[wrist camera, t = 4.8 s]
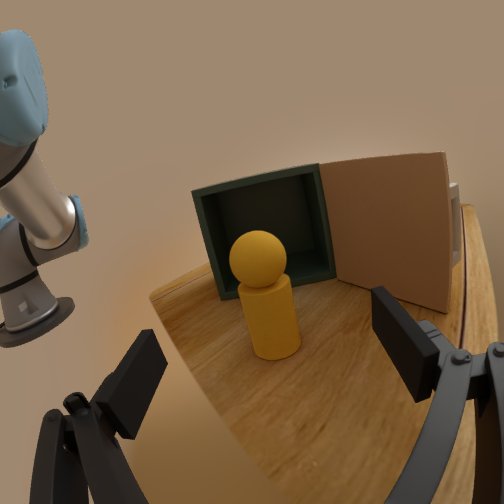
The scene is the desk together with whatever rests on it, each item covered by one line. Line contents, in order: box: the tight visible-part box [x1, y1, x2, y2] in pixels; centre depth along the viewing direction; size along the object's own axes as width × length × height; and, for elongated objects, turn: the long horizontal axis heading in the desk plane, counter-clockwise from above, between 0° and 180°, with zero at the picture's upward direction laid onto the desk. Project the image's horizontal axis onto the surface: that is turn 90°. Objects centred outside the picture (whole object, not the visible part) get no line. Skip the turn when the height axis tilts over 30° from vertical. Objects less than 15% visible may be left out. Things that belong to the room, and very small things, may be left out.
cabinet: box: [191, 163, 337, 301], centre depth 41 cm, size 12×16×15 cm
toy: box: [229, 231, 301, 360], centre depth 24 cm, size 5×5×11 cm
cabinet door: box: [319, 151, 461, 313], centre depth 28 cm, size 6×16×15 cm, turn 28°
